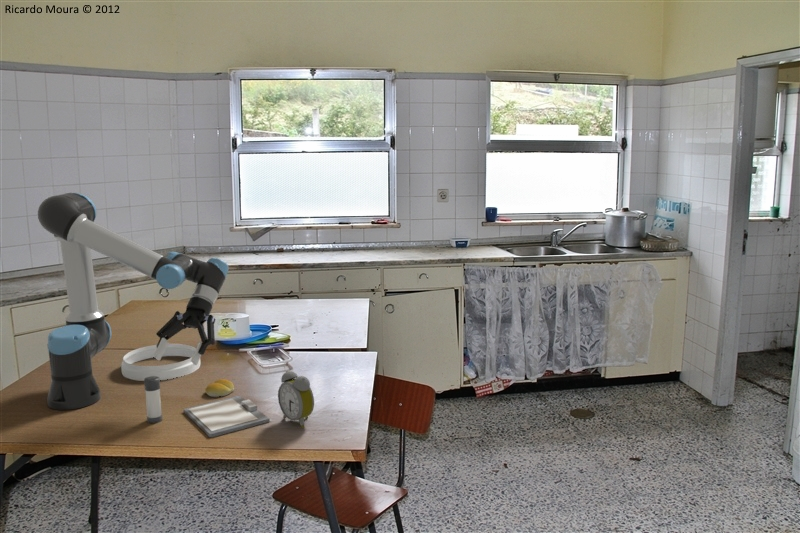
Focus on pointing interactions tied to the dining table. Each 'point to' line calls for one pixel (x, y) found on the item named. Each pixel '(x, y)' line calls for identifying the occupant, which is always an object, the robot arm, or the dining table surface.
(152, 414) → the white grey cylinder
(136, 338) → the dining table surface
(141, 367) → the white hollow ring
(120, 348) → the dining table surface
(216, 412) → the clipboard
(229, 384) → the bread roll
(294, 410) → the alarm clock
